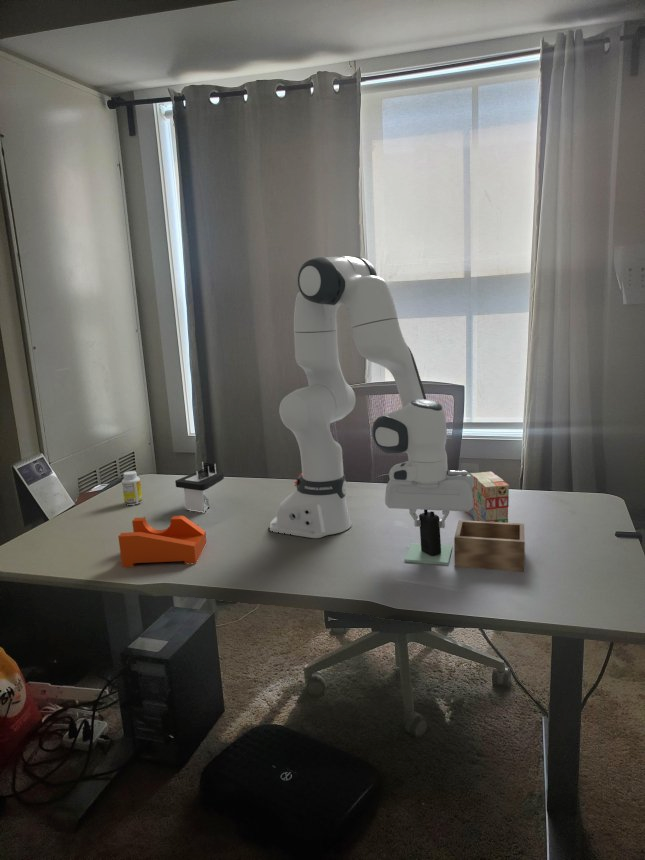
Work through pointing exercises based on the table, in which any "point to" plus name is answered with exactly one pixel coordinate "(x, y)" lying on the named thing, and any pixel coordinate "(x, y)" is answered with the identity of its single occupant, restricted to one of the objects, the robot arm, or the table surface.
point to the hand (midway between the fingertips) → (429, 526)
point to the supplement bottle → (131, 488)
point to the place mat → (421, 557)
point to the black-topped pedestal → (199, 486)
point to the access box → (489, 545)
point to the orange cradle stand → (162, 542)
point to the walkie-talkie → (430, 533)
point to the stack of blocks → (490, 498)
